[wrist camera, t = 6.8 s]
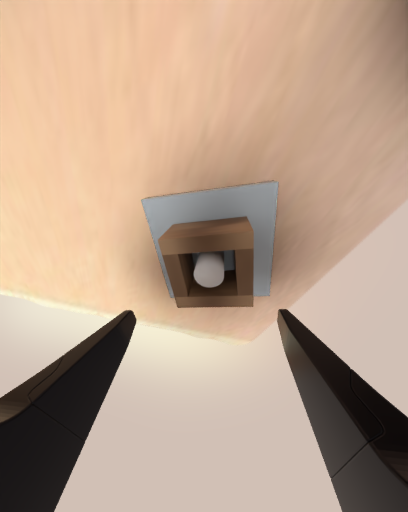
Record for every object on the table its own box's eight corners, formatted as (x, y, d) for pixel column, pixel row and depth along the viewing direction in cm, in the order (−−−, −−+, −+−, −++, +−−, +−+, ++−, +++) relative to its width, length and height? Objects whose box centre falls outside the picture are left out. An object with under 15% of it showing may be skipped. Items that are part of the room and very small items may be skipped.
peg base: (273, 180, 14) (299, 185, 9) (266, 287, 19) (280, 325, 15) (148, 197, 16) (114, 209, 11) (174, 290, 21) (159, 324, 17)
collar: (246, 216, 14) (253, 231, 11) (247, 279, 17) (253, 306, 14) (172, 224, 15) (157, 239, 12) (186, 281, 18) (177, 307, 15)
